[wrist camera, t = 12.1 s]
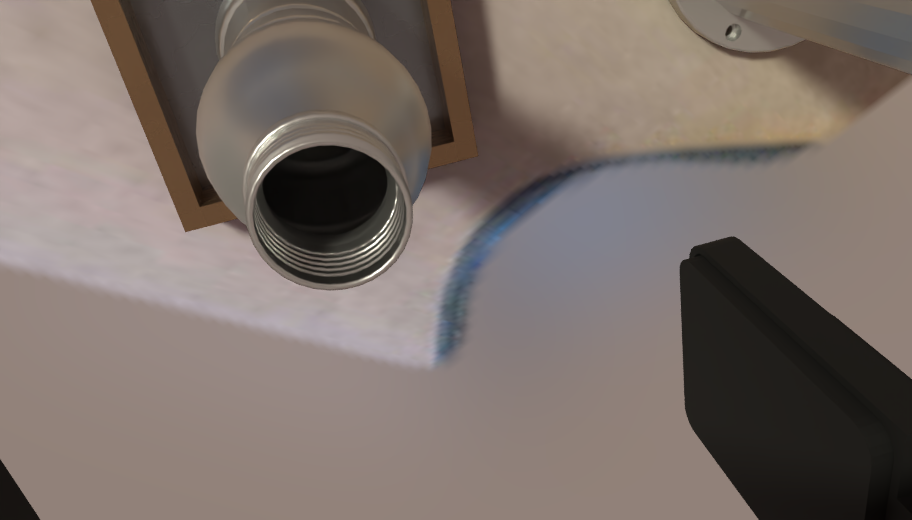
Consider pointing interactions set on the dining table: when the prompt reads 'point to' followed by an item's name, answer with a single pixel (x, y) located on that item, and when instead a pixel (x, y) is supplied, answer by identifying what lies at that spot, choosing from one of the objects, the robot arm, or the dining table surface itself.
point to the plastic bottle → (314, 138)
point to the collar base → (194, 58)
